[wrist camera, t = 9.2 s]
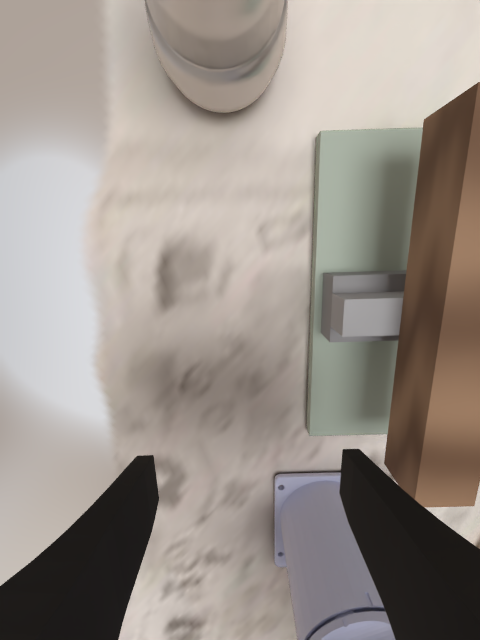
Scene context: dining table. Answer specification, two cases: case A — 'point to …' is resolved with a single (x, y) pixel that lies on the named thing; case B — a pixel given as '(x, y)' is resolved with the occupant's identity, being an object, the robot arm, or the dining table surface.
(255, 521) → the dining table surface
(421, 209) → the walnut beam
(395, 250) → the balance stand
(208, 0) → the plastic bottle
